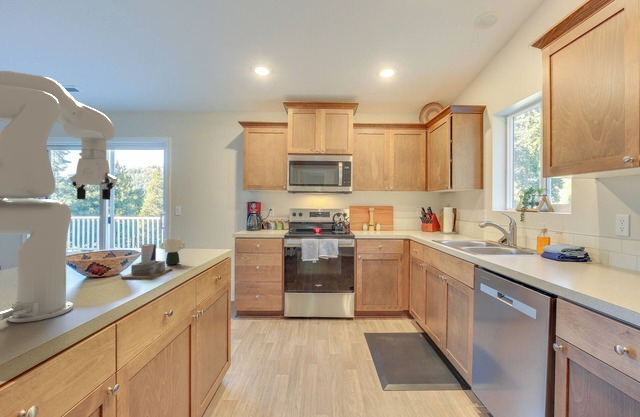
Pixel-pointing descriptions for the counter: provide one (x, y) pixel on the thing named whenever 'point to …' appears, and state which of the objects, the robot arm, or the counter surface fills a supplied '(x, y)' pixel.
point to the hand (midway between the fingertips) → (93, 199)
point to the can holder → (147, 271)
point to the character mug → (172, 250)
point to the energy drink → (148, 254)
